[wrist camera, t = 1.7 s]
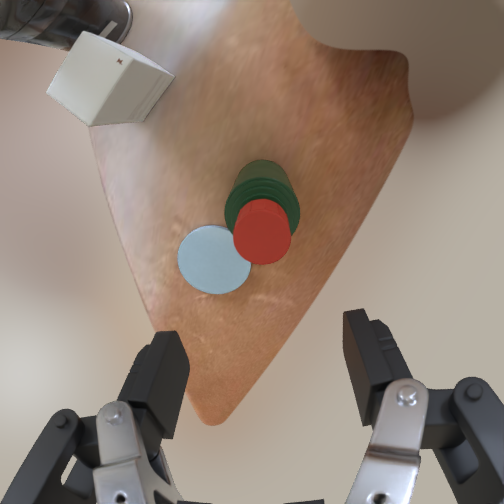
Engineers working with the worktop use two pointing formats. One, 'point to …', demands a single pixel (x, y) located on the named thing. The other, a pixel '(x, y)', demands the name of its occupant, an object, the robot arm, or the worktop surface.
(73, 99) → the white packaging box
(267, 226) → the cap
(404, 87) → the worktop surface
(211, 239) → the saucer
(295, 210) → the sauce bottle
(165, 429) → the robot arm
